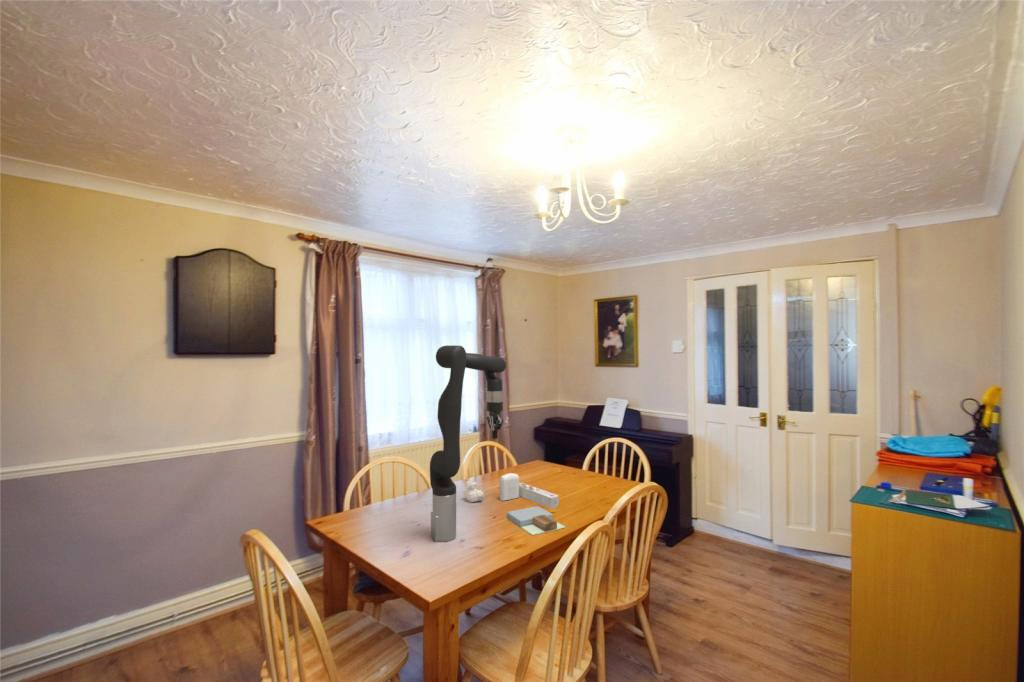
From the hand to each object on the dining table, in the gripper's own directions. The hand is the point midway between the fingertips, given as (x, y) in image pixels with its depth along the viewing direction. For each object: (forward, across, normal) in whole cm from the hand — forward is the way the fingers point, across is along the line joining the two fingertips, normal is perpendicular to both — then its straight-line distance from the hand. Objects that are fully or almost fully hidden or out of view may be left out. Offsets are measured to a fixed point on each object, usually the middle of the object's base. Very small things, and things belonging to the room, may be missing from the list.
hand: (494, 438), depth 201 cm
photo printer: (+33, -12, +14) cm, 38 cm away
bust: (+33, -18, -3) cm, 38 cm away
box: (+34, -4, +24) cm, 42 cm away
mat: (+33, +27, +9) cm, 44 cm away
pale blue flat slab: (+33, +16, +9) cm, 38 cm away
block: (+33, +27, +10) cm, 43 cm away
